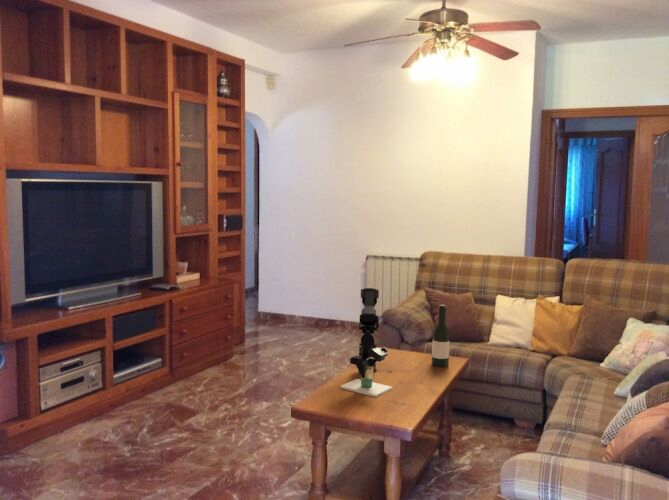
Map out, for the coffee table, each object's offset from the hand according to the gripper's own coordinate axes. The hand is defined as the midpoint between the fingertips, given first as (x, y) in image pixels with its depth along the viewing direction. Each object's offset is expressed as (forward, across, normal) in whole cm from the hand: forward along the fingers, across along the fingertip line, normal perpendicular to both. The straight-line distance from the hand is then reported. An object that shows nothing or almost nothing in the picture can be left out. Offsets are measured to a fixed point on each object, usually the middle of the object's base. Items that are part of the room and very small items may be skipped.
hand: (366, 376), depth 267 cm
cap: (0, 0, 0) cm, 1 cm away
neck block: (+6, 0, 0) cm, 6 cm away
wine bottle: (+6, +53, -9) cm, 54 cm away
